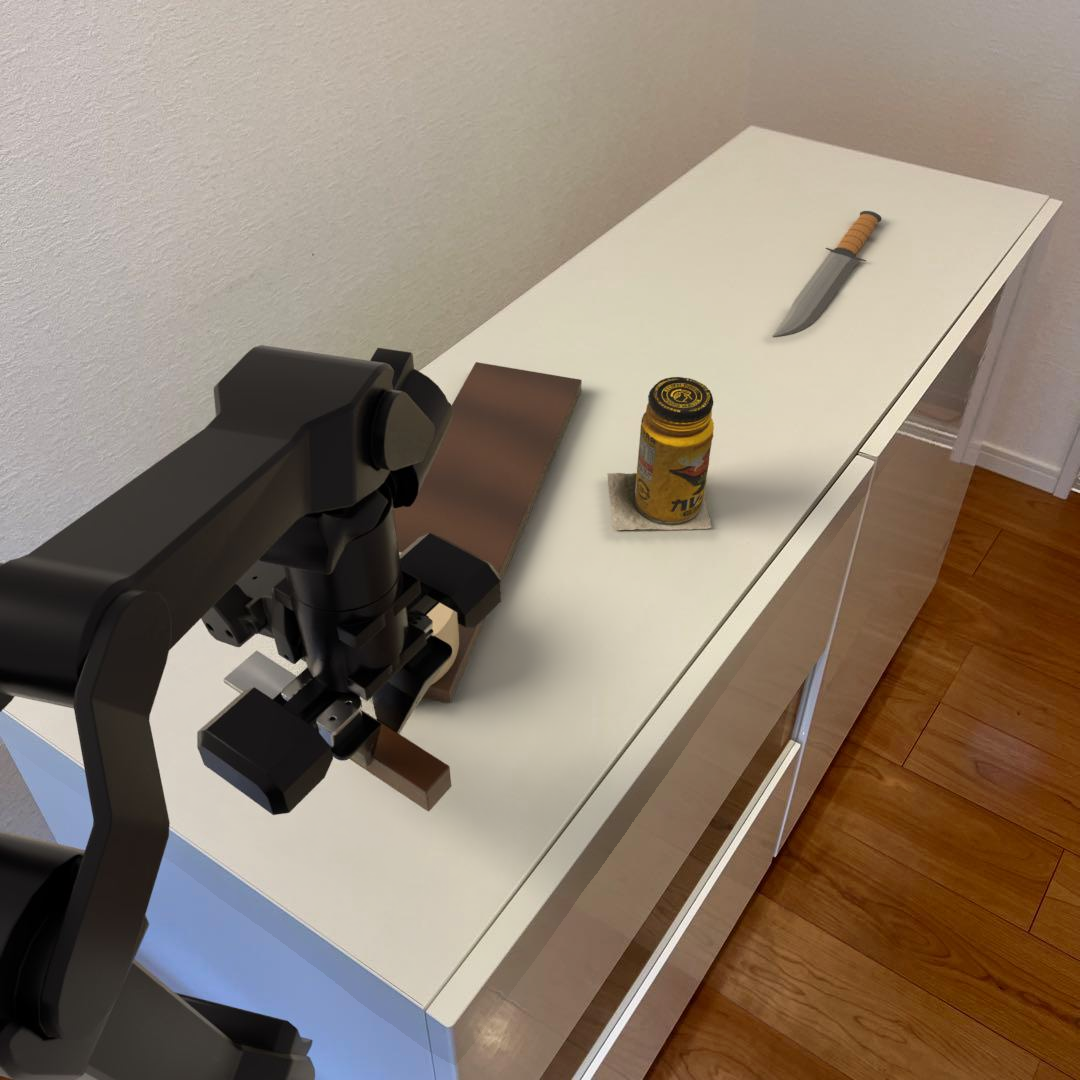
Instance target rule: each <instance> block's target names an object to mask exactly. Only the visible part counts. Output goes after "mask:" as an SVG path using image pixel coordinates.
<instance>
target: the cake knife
mask: <svg viewBox="0 0 1080 1080" xmlns="http://www.w3.org/2000/svg"><path fill="white" fill-rule="evenodd" d="M297 676H298V675H296V674H294V673H293V672H291V671H289V669H286V668H285V667H284V666H282V665H280V664H279V663H277V662H276V661H274V660H273V659H271V658H269V657H268V656H266V655H264V654H263V653H262V652H261V651H259V650H255V651H254V652H253V653H252V654H250V656H248V657H247V658H246V659H244V660H243V661H242V662H241V663H240V664H239V665H238V666H237V667H235V668H234V669H233V670H232V671H231V672H230V673H228V674H227V675H226V676H225V677H224V678H223V679H222V680H223V683H224V684H226V685H227V686H228V687H230V688H231V689H233V690H234V691H236V692H237V693H238V694H239V695H240V694H241V693H242V692H243V691H245V690H246V689H250V688H253V687H255V688H256V689H258V690H259V691H261V692H262V693H264V694H265V695H267V696H268V697H270V698H271V699H273V698H275V697H276V696H277V695H278V694H279V693H280V692H281V691H282V690H283V689H284V688H285V687H286V686H287V685H288V684H289V683H290V682H292V681H293V680H294V679H295V678H296V677H297ZM361 711H362V712H364V713H365V714H367V715H368V716H370V717H372V718H373V719H375V720H376V721H378V720H377V718H376V717H374V716H371V714H369V713H367V712H365V711H364V710H362V709H361ZM378 722H379V721H378ZM379 723H381V722H379ZM349 760H350V761H351V762H352V763H355V764H356V765H358V766H359V767H361V768H362V769H363V770H365V771H367V772H368V773H369V774H371V775H373V776H374V777H375V778H377V779H379V780H380V781H382V782H383V783H384V784H386V785H388V786H389V787H390V788H392V789H393V790H395V791H396V792H398V793H400V794H401V795H403V796H404V797H406V798H407V799H409V801H411V802H413V803H414V804H415V805H417V806H419V807H421V808H422V809H424V810H425V811H427V812H431V810H432V809H434V807H435V806H436V805H437V804H438V802H439V801H441V799H442V798H443V797H444V796H445V794H446V793H447V792H448V791H449V790H450V789H451V788H452V786H453V785H452V777H451V775H452V774H451V767H450V765H449V764H447V763H445V762H444V761H442V760H441V759H439V758H437V757H436V756H435V755H433V754H431V753H429V752H428V750H427V751H426V750H425V749H423V748H422V747H420V746H419V745H417V744H415V743H414V742H412V741H411V740H409V739H407V738H406V737H405V736H403V735H401V733H400V734H398V733H397V732H395V731H393V730H392V729H390V728H389V727H387V726H386V725H384V724H383V723H381V730H380V734H379V737H378V741H377V745H376V749H375V753H374V757H373V759H372V761H371V764H370V765H369V766H368V767H367V768H365V767H363V766H362V765H360V764H359V763H357V762H356V761H354V760H353V759H352V758H350V759H349Z"/></svg>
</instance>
